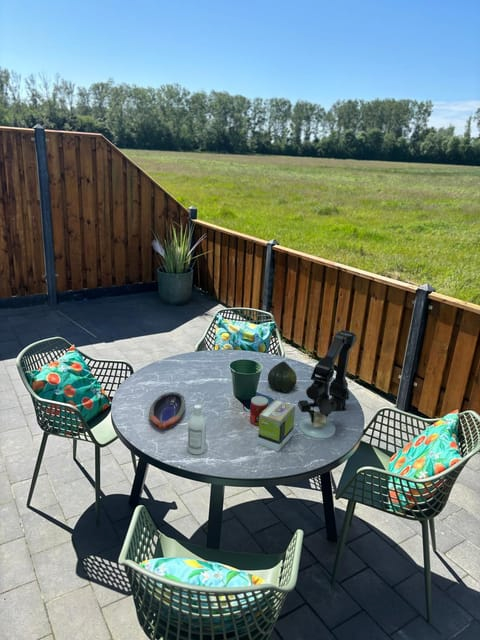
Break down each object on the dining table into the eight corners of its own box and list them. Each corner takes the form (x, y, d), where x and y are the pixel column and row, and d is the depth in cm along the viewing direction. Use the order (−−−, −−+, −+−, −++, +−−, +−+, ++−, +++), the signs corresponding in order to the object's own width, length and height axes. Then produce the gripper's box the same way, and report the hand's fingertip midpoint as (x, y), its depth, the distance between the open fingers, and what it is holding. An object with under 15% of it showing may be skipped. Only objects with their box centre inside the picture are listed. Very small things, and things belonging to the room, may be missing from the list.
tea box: (272, 428, 203) (275, 398, 198) (293, 435, 198) (296, 405, 194) (256, 444, 191) (259, 413, 186) (278, 452, 186) (281, 420, 181)
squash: (277, 389, 227) (293, 363, 230) (258, 378, 238) (273, 354, 241) (292, 400, 236) (306, 375, 239) (272, 390, 247) (286, 366, 250)
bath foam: (196, 442, 189) (197, 400, 183) (208, 449, 185) (210, 406, 179) (184, 450, 184) (185, 406, 178) (196, 457, 180) (197, 412, 174)
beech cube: (320, 420, 206) (322, 410, 205) (325, 426, 202) (326, 416, 200) (310, 421, 205) (311, 411, 204) (314, 427, 201) (315, 417, 199)
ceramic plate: (327, 418, 213) (327, 416, 213) (340, 437, 199) (341, 435, 198) (294, 420, 210) (294, 418, 210) (306, 440, 195) (306, 437, 195)
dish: (190, 400, 223) (190, 391, 222) (177, 435, 194) (177, 425, 193) (159, 398, 224) (159, 388, 222) (141, 432, 195) (141, 422, 193)
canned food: (255, 427, 202) (256, 406, 199) (246, 419, 209) (247, 397, 206) (269, 424, 206) (271, 402, 202) (261, 415, 213) (262, 394, 209)
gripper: (307, 400, 189) (303, 433, 194) (349, 398, 193) (344, 430, 198) (298, 388, 199) (295, 419, 204) (338, 386, 203) (334, 417, 208)
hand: (317, 421), depth 203 cm, fingers closed on beech cube, 5 cm apart
